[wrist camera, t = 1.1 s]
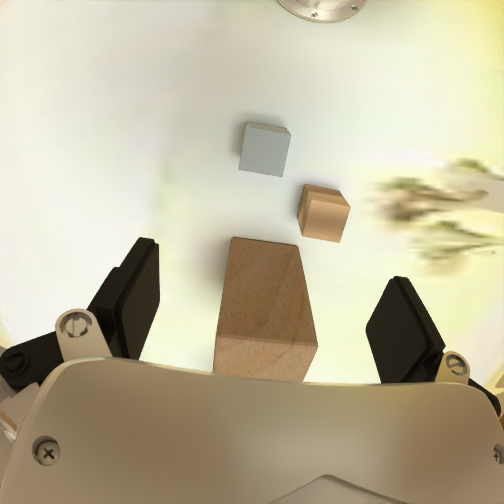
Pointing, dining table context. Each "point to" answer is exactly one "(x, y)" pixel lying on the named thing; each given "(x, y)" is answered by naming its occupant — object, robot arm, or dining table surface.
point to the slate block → (264, 149)
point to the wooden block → (264, 314)
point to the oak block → (322, 213)
